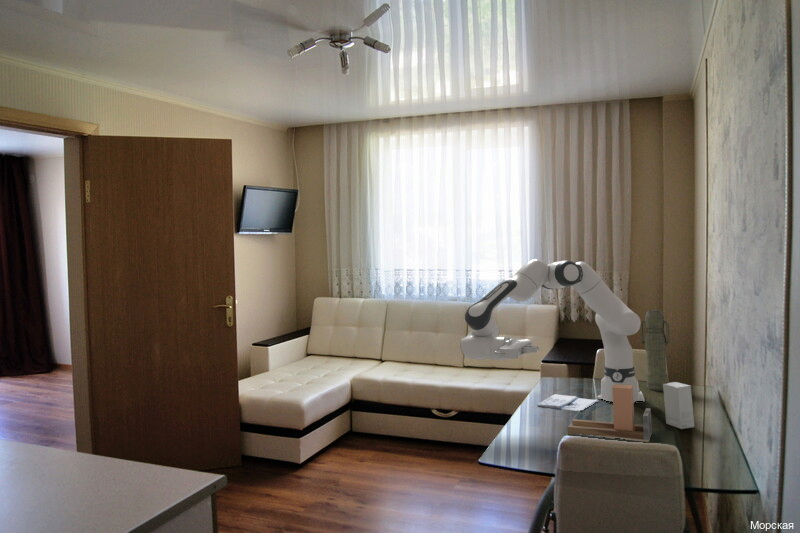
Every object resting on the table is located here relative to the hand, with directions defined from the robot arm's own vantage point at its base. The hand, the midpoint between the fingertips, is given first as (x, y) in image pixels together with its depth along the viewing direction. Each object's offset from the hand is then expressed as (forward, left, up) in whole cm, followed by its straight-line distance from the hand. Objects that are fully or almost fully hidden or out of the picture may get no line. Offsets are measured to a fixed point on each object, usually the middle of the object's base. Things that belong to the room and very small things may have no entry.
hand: (537, 349), depth 218 cm
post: (0, +29, -29) cm, 41 cm away
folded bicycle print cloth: (-35, +2, -30) cm, 46 cm away
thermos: (-72, +33, -29) cm, 84 cm away
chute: (0, +23, -29) cm, 37 cm away
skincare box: (-17, +45, -29) cm, 56 cm away
